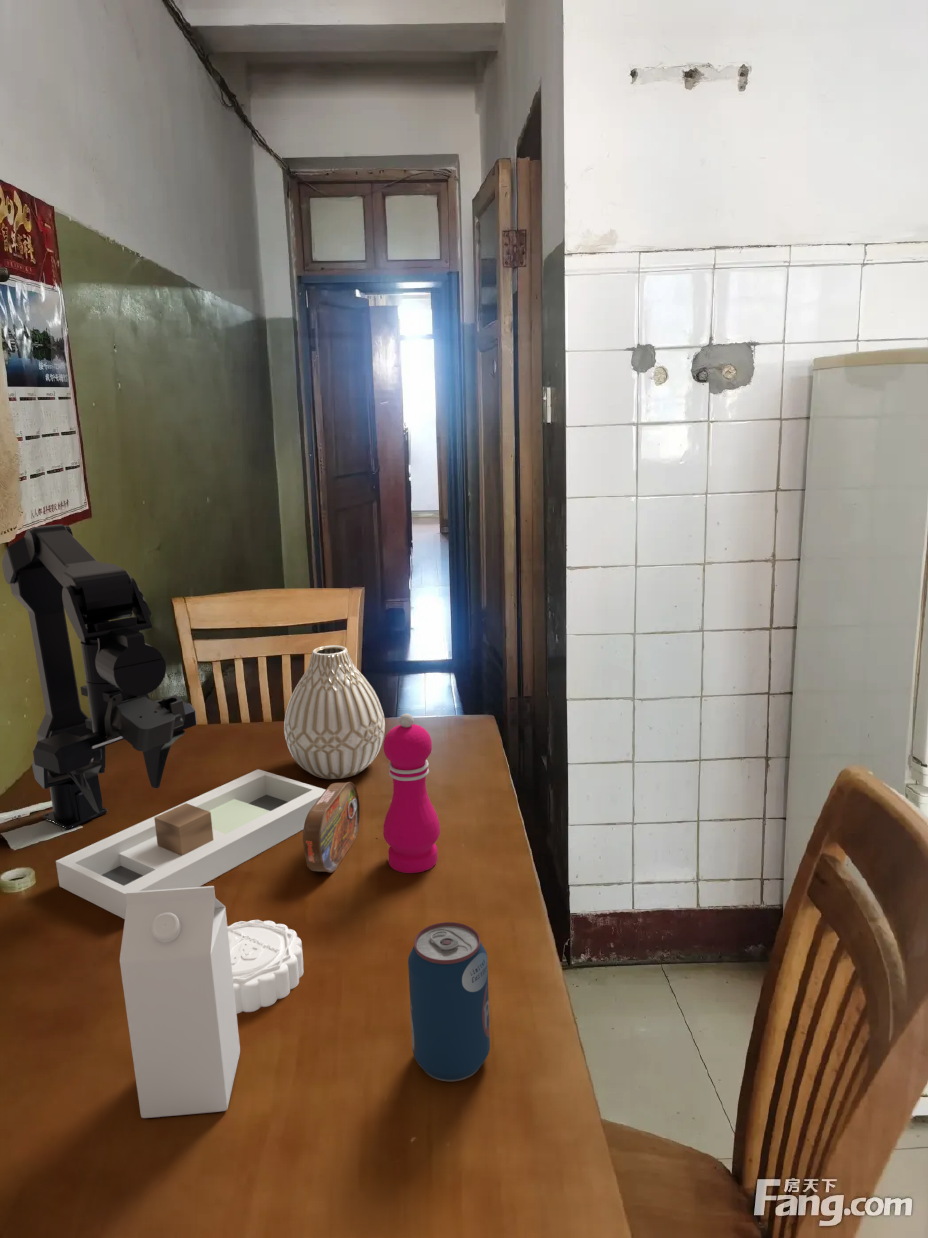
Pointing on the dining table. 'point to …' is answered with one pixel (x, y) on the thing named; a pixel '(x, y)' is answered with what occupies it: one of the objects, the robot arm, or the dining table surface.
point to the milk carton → (179, 1000)
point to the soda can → (449, 1001)
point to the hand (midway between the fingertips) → (128, 799)
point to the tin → (331, 827)
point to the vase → (333, 717)
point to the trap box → (241, 830)
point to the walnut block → (184, 829)
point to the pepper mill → (410, 800)
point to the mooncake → (263, 962)
